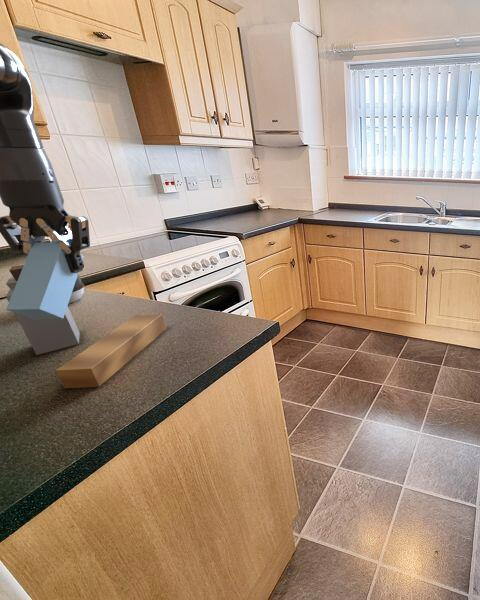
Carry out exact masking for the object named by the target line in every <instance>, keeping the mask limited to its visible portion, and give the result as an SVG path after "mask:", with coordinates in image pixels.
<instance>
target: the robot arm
mask: <svg viewBox="0 0 480 600" xmlns="http://www.w3.org/2000/svg"><path fill="white" fill-rule="evenodd" d="M32 87H33V86H32V82H31V78H30V75H29V73H28V70H27V68H26V66H25V65H24V63H23V62H22V60H21V59H20V57H19V56H18V55H17V54H16V53H15V52H14V51H13V50H12V49H11V48H9V47H7V46H6V45H5V44H2V43H1V42H0V200H1V202H2V204H3V206H5V207H7V208H8V209H9V212H8V215H3V216H0V235H1V236H2V238H3V239H4V240H5V242H6V243H7V245H8V246H9V247H10V249H11V250H12V251H20V252H23V253H24V254H26V255H27V256H28V254H29V251H30V249H31V248H32V246H33V243H44V240H45V239H46V238H50V240H51V241H53V242H54V243H57V244H58V245H59V246H60V247H61V249H62V250H63V251H64V252H65V253H66V254H64V255H65V258H66V261H67V264H68V266H69V269H70V272H71V273H78V272H79V273H80V272H82V271H83V270H84V269H85V263H84V261H82V258H81V255H82V254H81V251H82V250H84V249H89V248H90V247H91V241H90V239H91V238H90V226H89V225H90V224H89V219H88V218H87V217H86V216H76V215H75V216H74V215H70V214H69V213H68V212H67V210H66V209H65V207H64V204H65V200H64V197H63V194H62V191H61V188H60V186H59V182H58V179H57V177H56V173H55V171H54V168H53V165H52V163H51V161H50V158H49V157H48V155H47V152H46V150H45V148H44V145H43V141H42V139H41V136H40V133H39V130H38V127H37V126H36V124H35V117H34V116H35V115H34V114H35V108H34V107H35V106H34V97H33V88H32ZM67 226H69V227H70V228H71V231H72V232H71V231H70V230H69V228H68V227H67ZM61 234H63V236H59V235H61ZM68 244H69V245H68ZM80 254H81V255H80ZM79 273H78V274H79Z"/></svg>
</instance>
